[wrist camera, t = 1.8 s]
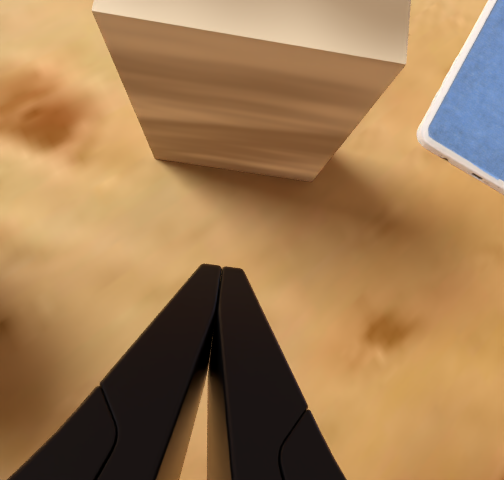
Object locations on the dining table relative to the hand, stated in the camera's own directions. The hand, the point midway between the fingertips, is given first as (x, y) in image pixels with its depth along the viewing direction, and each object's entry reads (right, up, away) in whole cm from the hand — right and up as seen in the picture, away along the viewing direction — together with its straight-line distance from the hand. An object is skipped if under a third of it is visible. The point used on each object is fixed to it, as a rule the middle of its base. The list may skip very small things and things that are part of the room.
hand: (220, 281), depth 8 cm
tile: (0, +6, +15) cm, 16 cm away
